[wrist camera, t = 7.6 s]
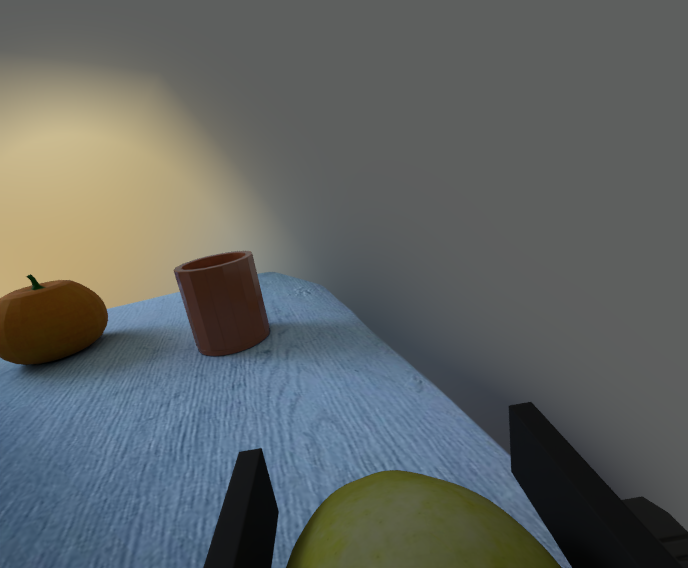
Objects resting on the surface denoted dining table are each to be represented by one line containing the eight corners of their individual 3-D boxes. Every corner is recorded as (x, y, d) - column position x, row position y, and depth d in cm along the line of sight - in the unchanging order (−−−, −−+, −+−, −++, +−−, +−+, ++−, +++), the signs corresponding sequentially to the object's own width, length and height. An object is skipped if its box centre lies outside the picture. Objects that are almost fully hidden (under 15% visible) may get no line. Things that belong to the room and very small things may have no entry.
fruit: (-23, 387, 40) (-67, 300, 37) (33, 345, 51) (2, 275, 48) (98, 357, 42) (65, 273, 39) (126, 323, 53) (102, 255, 50)
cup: (266, 318, 46) (249, 247, 43) (273, 342, 38) (254, 258, 36) (201, 335, 44) (179, 262, 41) (195, 363, 37) (168, 276, 34)
